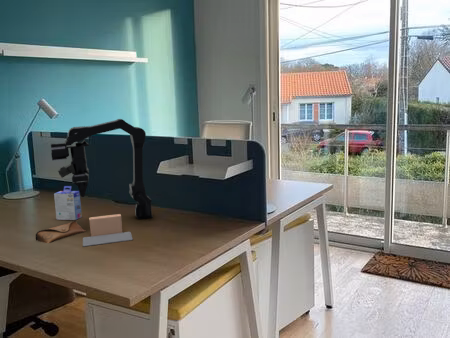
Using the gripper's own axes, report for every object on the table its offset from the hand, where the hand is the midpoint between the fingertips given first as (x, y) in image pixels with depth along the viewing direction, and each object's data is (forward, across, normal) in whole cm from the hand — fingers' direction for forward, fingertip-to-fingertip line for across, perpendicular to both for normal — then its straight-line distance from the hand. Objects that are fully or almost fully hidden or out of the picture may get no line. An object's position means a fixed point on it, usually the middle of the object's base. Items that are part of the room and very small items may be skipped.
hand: (83, 194), depth 186 cm
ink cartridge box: (+14, -14, -8) cm, 21 cm away
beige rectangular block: (+14, +15, +8) cm, 22 cm away
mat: (+14, +23, +8) cm, 28 cm away
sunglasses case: (+14, +11, -9) cm, 20 cm away
